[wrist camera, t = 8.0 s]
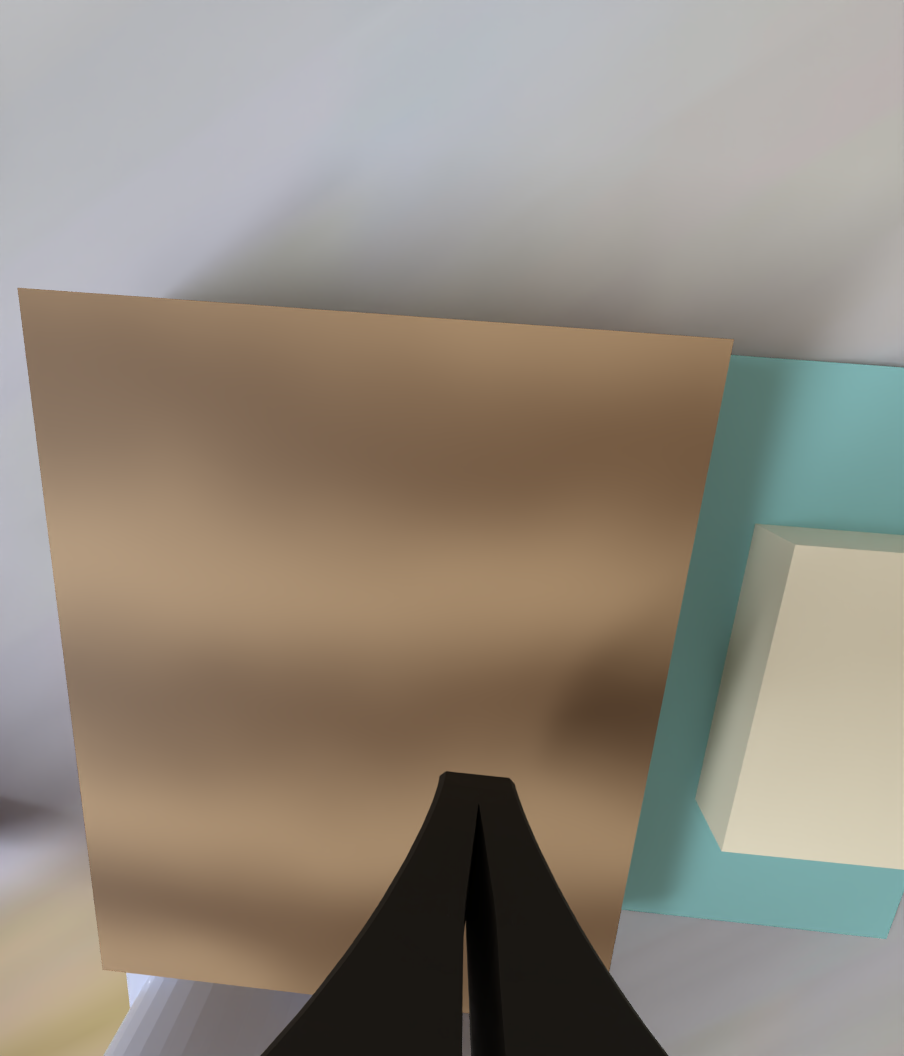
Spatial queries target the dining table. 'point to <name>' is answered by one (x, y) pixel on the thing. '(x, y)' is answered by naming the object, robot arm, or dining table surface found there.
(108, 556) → the wooden block
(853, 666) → the cream bevelled block
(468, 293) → the dining table surface
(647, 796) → the mat
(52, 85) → the dining table surface
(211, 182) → the dining table surface
